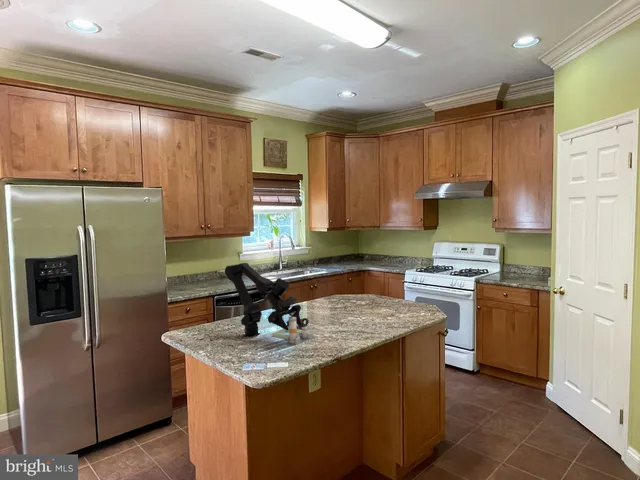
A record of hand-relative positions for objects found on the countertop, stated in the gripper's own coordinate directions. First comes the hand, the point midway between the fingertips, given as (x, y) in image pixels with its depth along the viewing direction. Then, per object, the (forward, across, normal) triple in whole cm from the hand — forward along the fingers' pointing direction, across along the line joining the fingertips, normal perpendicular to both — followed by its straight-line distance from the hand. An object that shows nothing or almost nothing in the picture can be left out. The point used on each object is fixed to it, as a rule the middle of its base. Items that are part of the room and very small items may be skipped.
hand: (294, 327), depth 194 cm
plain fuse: (+4, +9, +6) cm, 12 cm away
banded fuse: (+4, 0, +6) cm, 7 cm away
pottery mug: (-5, +20, +17) cm, 27 cm away
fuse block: (+5, +4, +7) cm, 10 cm away
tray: (-3, +8, +14) cm, 17 cm away
